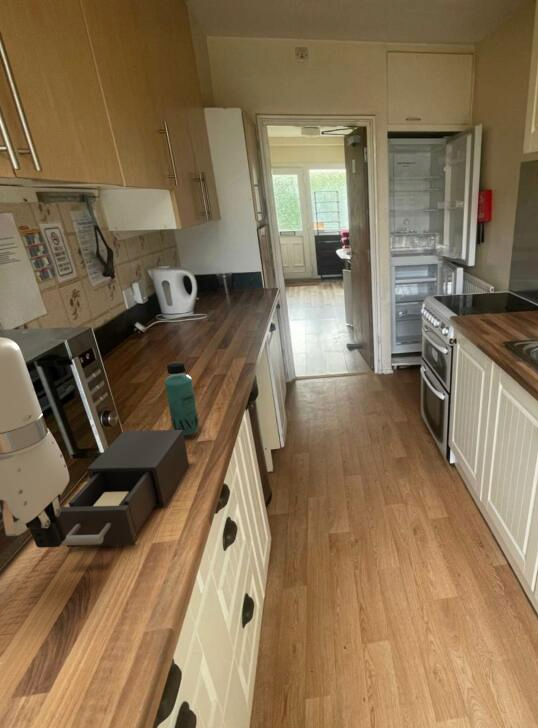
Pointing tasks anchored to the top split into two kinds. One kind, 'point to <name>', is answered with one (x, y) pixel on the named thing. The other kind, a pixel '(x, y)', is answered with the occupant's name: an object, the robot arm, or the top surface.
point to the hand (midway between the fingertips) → (52, 543)
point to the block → (112, 499)
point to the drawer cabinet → (147, 458)
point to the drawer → (109, 510)
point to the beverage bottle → (181, 399)
